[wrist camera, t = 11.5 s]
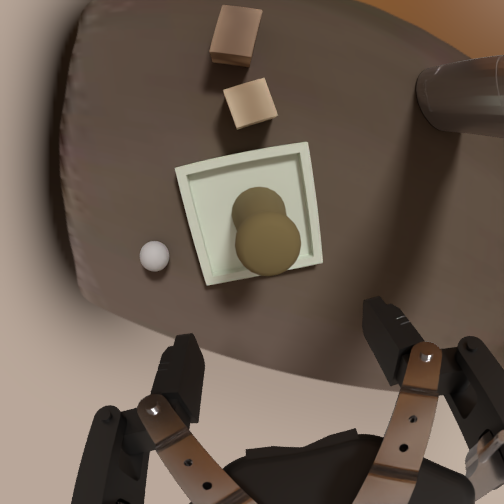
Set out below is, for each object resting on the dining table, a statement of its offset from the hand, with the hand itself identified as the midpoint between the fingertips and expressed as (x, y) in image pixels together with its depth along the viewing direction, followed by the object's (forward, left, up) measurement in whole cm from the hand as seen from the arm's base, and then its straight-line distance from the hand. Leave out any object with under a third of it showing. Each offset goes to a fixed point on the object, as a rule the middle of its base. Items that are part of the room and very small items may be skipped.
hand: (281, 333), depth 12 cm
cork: (-1, 0, -20) cm, 20 cm away
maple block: (-2, -12, -20) cm, 24 cm away
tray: (0, 0, -20) cm, 20 cm away
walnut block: (-2, -20, -21) cm, 29 cm away
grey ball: (+12, +2, -19) cm, 22 cm away
